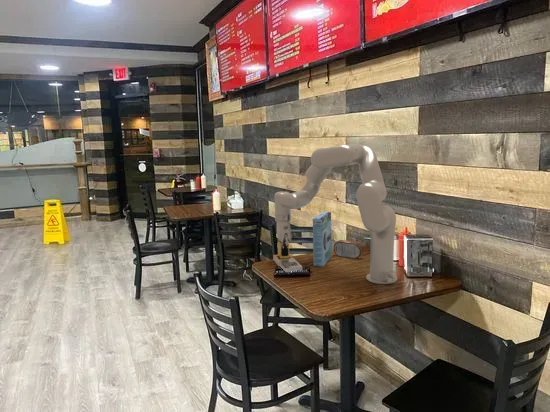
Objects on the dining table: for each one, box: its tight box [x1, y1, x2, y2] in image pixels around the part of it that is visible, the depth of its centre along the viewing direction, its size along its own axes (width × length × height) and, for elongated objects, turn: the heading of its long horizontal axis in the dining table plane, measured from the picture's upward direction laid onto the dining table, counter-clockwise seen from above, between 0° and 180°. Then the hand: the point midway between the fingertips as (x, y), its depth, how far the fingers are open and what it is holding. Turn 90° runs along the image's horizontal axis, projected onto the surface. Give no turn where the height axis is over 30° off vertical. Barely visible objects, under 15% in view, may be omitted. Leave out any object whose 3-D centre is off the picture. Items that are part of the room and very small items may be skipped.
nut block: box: [277, 240, 290, 259], centre depth 205 cm, size 4×4×9 cm
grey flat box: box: [272, 253, 303, 272], centre depth 200 cm, size 22×8×3 cm, turn 14°
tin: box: [332, 239, 364, 260], centre depth 212 cm, size 15×3×8 cm, turn 58°
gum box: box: [312, 211, 333, 267], centre depth 205 cm, size 20×5×23 cm, turn 160°
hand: (283, 254), depth 205 cm, fingers closed on nut block, 4 cm apart
